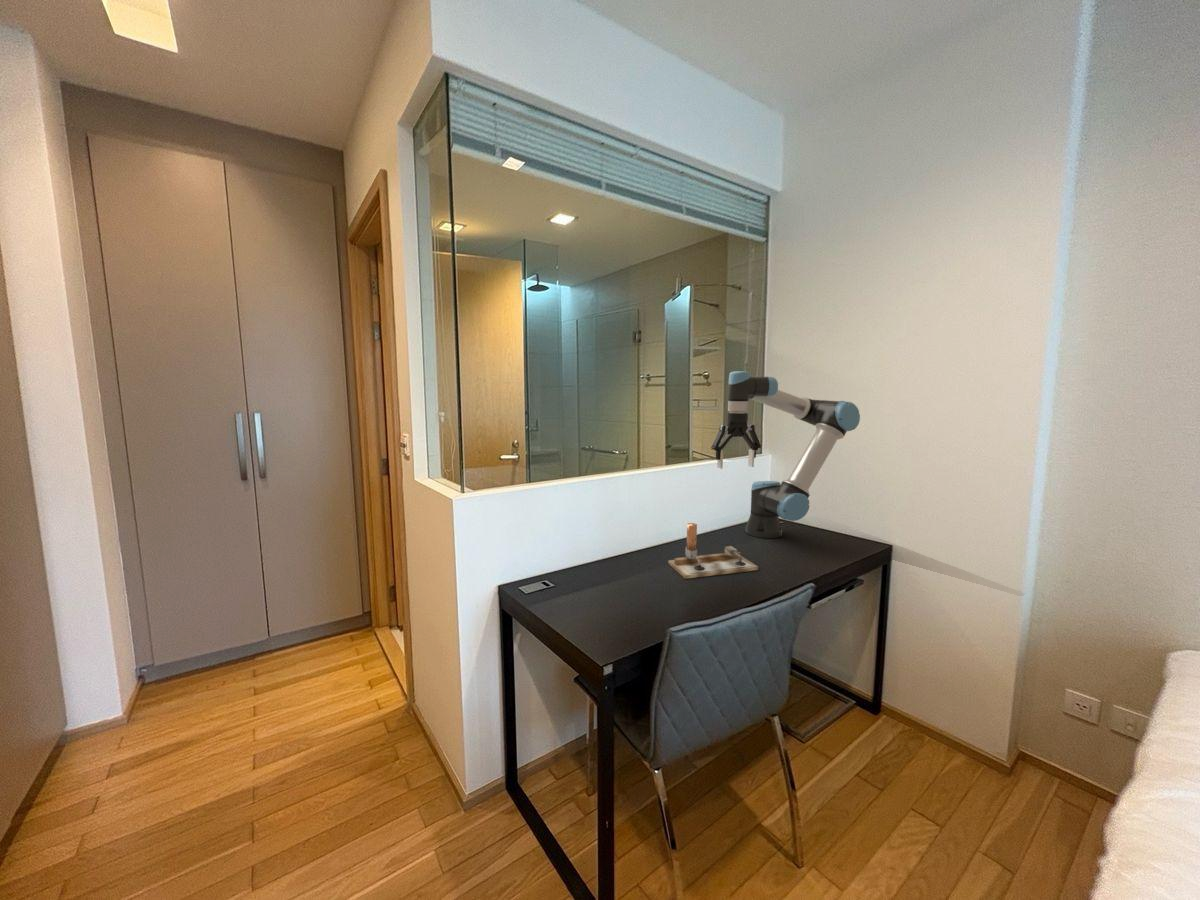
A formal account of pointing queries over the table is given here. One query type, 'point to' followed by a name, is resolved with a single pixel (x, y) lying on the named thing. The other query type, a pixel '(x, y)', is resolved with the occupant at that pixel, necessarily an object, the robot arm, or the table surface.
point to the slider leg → (692, 542)
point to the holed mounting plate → (713, 564)
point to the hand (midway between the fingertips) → (735, 467)
